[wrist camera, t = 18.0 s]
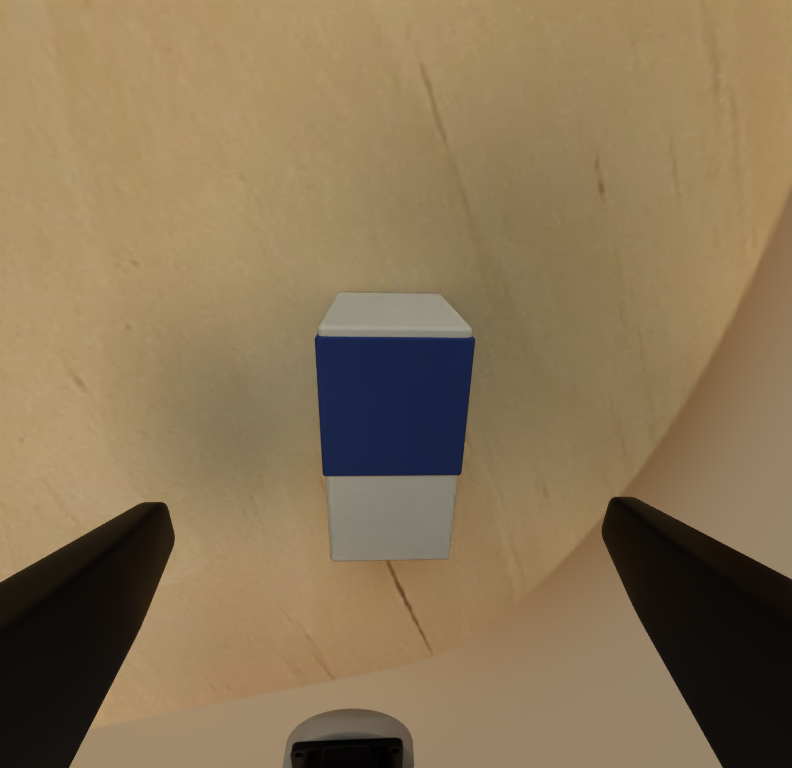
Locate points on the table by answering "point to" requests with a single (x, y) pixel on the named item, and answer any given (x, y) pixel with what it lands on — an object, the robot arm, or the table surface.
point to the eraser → (392, 422)
